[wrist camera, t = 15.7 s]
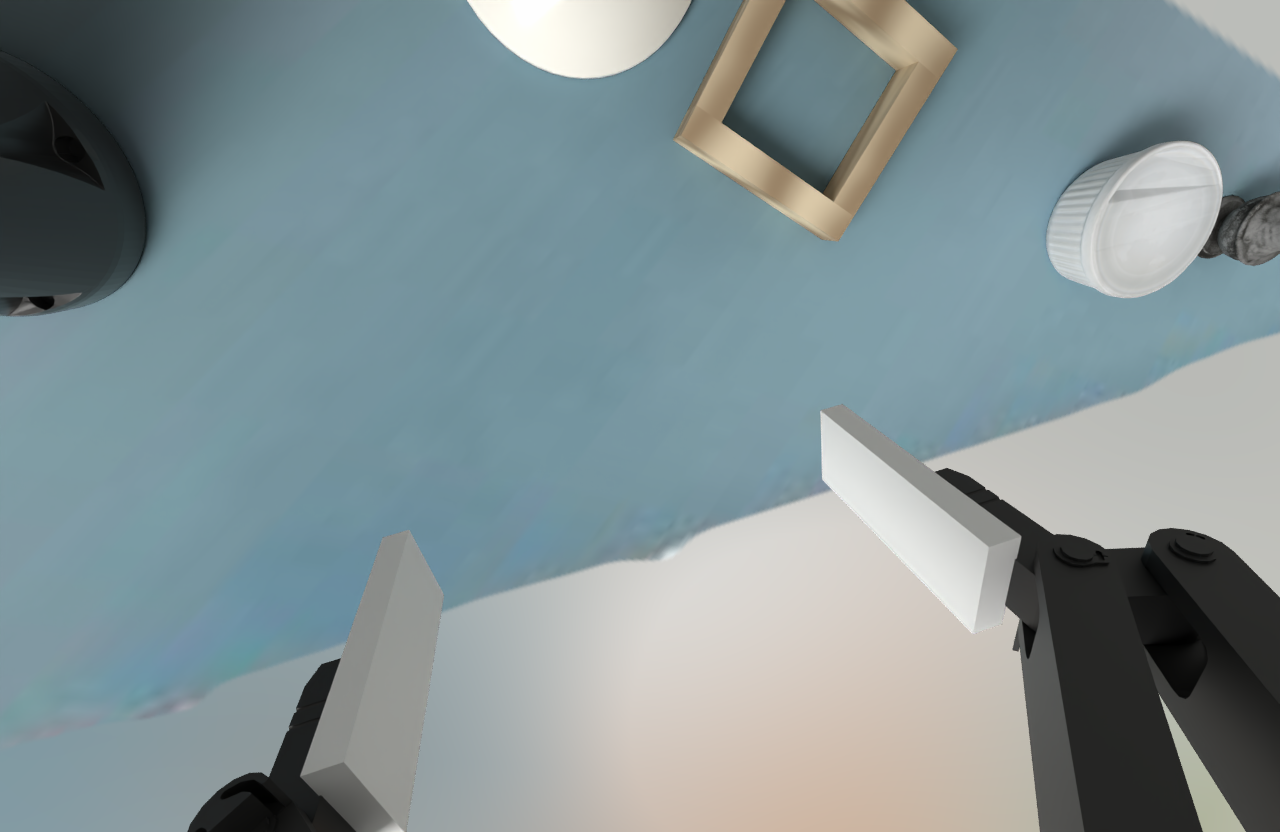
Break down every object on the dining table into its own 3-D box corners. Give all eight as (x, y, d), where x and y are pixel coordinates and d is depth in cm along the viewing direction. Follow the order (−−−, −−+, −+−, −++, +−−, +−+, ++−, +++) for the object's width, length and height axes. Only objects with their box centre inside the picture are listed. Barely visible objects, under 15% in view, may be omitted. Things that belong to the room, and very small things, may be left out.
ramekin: (1133, 116, 41) (1211, 104, 36) (1164, 231, 45) (1237, 233, 40) (1013, 211, 42) (1073, 212, 38) (1055, 313, 47) (1113, 326, 42)
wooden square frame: (672, 139, 36) (681, 135, 34) (781, -76, 32) (799, -98, 30) (821, 239, 40) (838, 241, 38) (932, 59, 37) (957, 49, 35)
